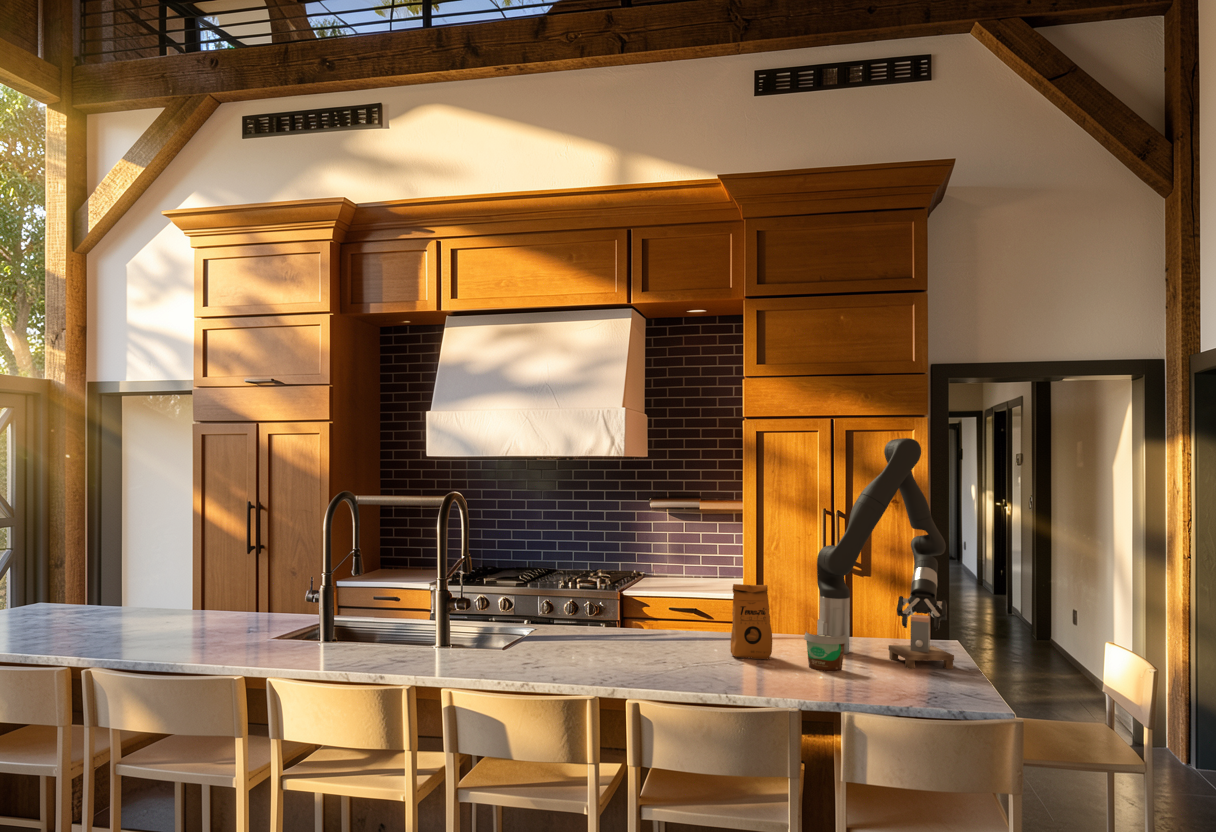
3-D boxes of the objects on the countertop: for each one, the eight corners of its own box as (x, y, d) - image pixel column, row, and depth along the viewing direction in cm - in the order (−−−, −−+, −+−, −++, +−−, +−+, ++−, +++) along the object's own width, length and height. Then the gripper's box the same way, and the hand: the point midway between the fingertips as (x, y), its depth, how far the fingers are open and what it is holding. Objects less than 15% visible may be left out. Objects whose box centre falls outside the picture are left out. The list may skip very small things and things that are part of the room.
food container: (798, 669, 247) (799, 633, 247) (804, 665, 252) (804, 630, 253) (842, 674, 241) (842, 638, 242) (846, 670, 247) (847, 635, 247)
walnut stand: (907, 668, 251) (907, 654, 251) (888, 658, 265) (888, 645, 265) (954, 669, 252) (954, 655, 252) (932, 658, 266) (932, 645, 266)
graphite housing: (910, 651, 256) (910, 617, 257) (912, 647, 262) (912, 614, 262) (927, 653, 254) (927, 619, 255) (929, 649, 260) (929, 616, 260)
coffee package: (772, 661, 256) (773, 587, 257) (730, 659, 257) (731, 585, 259) (770, 654, 265) (771, 582, 267) (730, 652, 267) (731, 581, 268)
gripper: (899, 575, 270) (894, 617, 259) (947, 579, 264) (944, 622, 253) (901, 591, 274) (896, 633, 263) (949, 594, 268) (946, 638, 257)
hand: (920, 627), depth 258 cm, fingers open, 8 cm apart
